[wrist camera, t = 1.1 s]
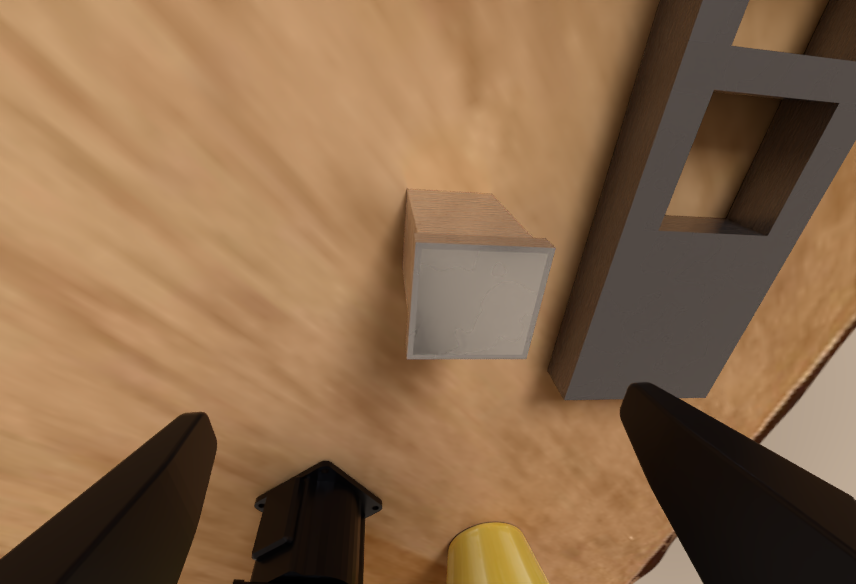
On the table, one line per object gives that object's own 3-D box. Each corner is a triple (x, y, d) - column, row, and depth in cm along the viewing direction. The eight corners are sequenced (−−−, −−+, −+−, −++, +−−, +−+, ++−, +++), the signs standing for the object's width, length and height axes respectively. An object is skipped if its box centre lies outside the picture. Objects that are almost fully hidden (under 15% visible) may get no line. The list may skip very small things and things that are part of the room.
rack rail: (677, 370, 25) (705, 397, 23) (547, 370, 24) (564, 400, 22) (989, -238, 13) (1112, -301, 11) (751, -302, 12) (836, -387, 9)
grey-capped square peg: (482, 273, 20) (526, 358, 14) (398, 271, 20) (406, 359, 14) (496, 189, 18) (555, 247, 12) (403, 184, 18) (415, 242, 12)
